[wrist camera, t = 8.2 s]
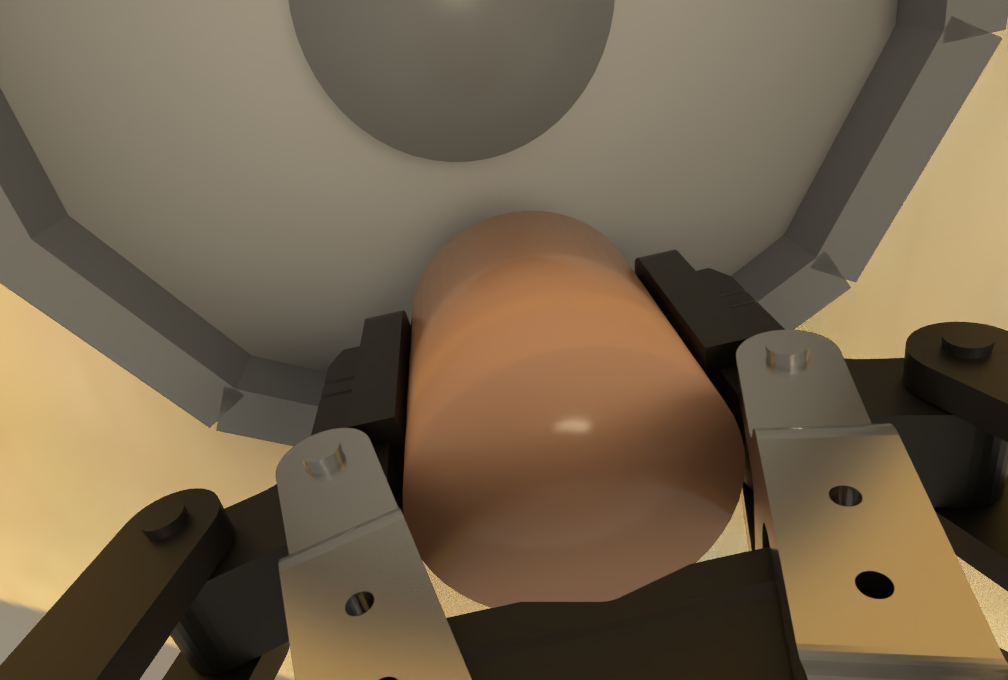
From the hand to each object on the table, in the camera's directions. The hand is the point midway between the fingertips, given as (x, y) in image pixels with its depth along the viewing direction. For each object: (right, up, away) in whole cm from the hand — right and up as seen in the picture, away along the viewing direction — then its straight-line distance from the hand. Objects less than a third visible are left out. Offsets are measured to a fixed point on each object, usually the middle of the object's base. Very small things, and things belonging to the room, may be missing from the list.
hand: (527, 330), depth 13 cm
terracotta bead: (0, 0, 0) cm, 0 cm away
